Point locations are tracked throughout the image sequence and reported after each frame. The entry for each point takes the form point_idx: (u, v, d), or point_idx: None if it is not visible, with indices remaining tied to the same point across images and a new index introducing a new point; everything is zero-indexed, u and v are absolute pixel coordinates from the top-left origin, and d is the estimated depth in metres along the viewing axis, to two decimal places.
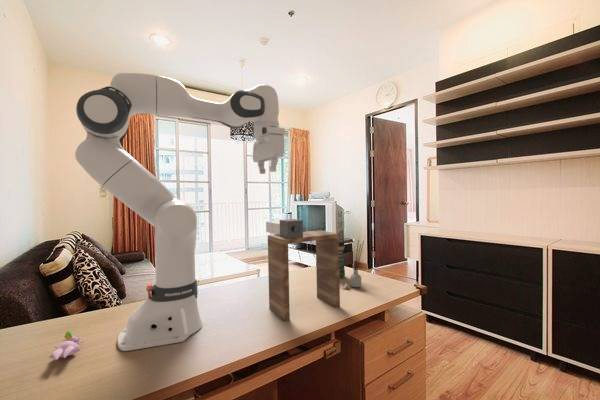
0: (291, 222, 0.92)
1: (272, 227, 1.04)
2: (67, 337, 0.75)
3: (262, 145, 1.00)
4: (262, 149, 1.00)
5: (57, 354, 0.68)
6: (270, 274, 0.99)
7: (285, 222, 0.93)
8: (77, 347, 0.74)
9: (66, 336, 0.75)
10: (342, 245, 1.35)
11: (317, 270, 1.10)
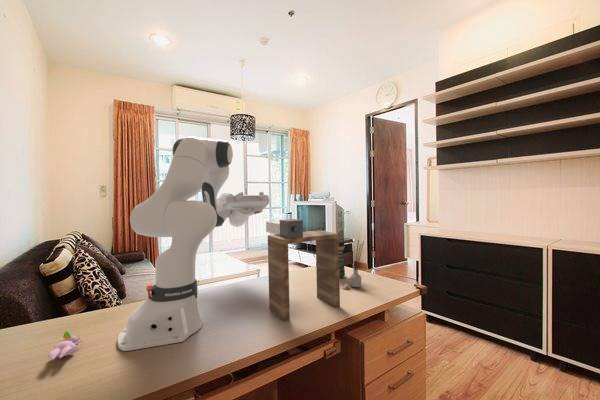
0: (291, 222, 0.92)
1: (272, 227, 1.04)
2: (65, 337, 0.75)
3: None
4: None
5: (54, 355, 0.68)
6: (270, 274, 0.99)
7: (285, 222, 0.93)
8: (75, 347, 0.74)
9: (64, 336, 0.75)
10: (342, 245, 1.35)
11: (317, 270, 1.10)
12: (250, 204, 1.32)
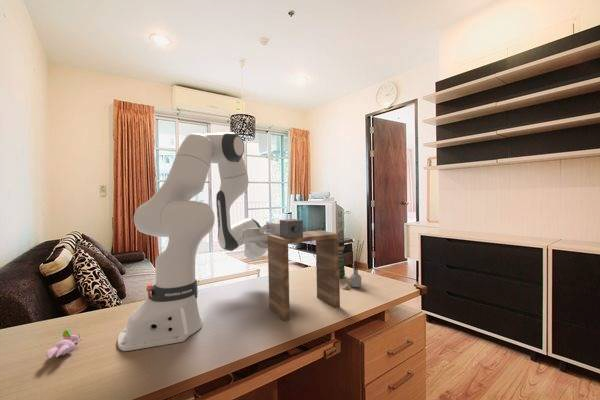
0: (291, 222, 0.92)
1: (272, 227, 1.04)
2: (65, 335, 0.76)
3: None
4: None
5: (51, 353, 0.69)
6: (270, 274, 0.99)
7: (285, 222, 0.93)
8: (73, 346, 0.74)
9: (64, 334, 0.76)
10: (342, 245, 1.35)
11: (317, 270, 1.10)
12: None
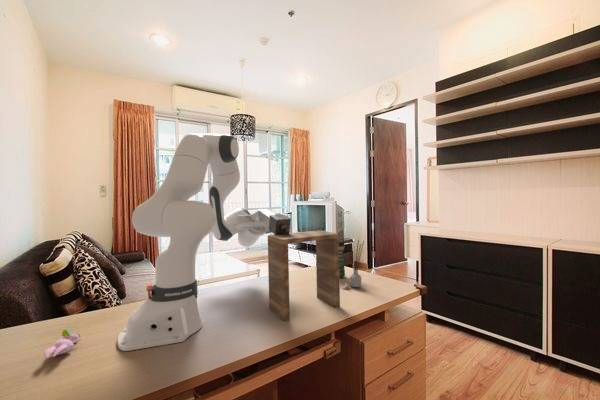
0: (280, 220, 1.00)
1: (263, 217, 1.12)
2: (64, 335, 0.76)
3: None
4: None
5: (48, 353, 0.69)
6: (270, 274, 0.99)
7: (274, 219, 1.00)
8: (71, 346, 0.75)
9: (63, 334, 0.76)
10: (342, 245, 1.35)
11: (317, 270, 1.10)
12: (262, 224, 1.21)
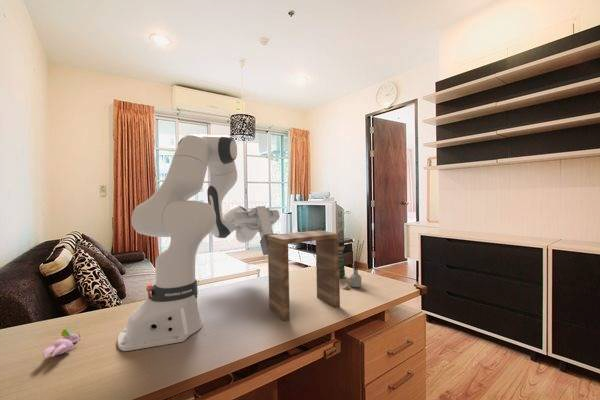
0: None
1: (258, 220, 1.16)
2: (63, 335, 0.76)
3: None
4: None
5: (47, 353, 0.69)
6: (270, 274, 0.99)
7: (266, 245, 1.08)
8: (71, 346, 0.75)
9: (62, 334, 0.76)
10: (342, 245, 1.35)
11: (317, 270, 1.10)
12: None
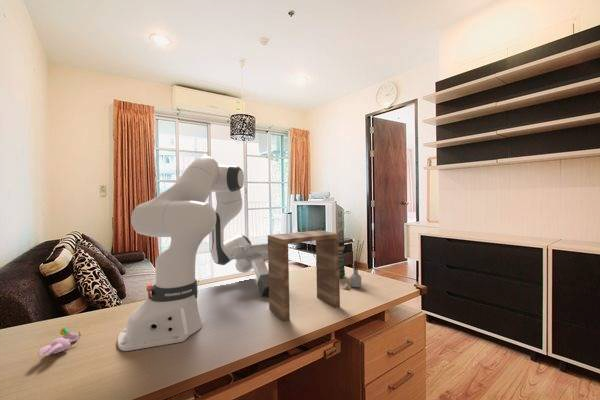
0: (267, 287, 1.11)
1: (254, 265, 1.22)
2: (62, 333, 0.77)
3: None
4: None
5: (42, 352, 0.69)
6: (270, 274, 0.99)
7: (263, 285, 1.12)
8: (67, 345, 0.75)
9: (61, 332, 0.77)
10: (342, 245, 1.35)
11: (317, 270, 1.10)
12: (258, 253, 1.26)
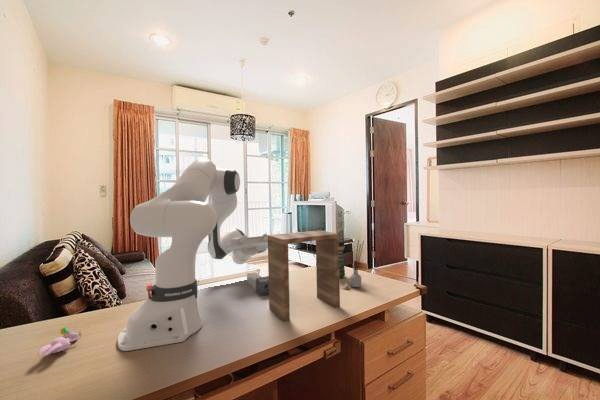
0: (264, 282, 1.14)
1: (251, 280, 1.26)
2: (62, 333, 0.77)
3: None
4: None
5: (42, 351, 0.70)
6: (270, 274, 0.99)
7: (259, 282, 1.15)
8: (67, 344, 0.75)
9: (61, 332, 0.77)
10: (342, 245, 1.35)
11: (317, 270, 1.10)
12: (254, 245, 1.31)
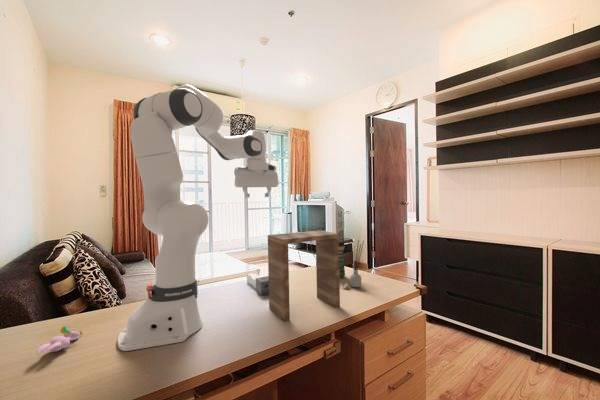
0: (264, 282, 1.14)
1: (251, 280, 1.26)
2: (62, 332, 0.78)
3: (257, 176, 1.29)
4: (258, 179, 1.29)
5: (40, 350, 0.70)
6: (270, 274, 0.99)
7: (259, 282, 1.15)
8: (67, 343, 0.76)
9: (61, 331, 0.78)
10: (342, 245, 1.35)
11: (317, 270, 1.10)
12: None
